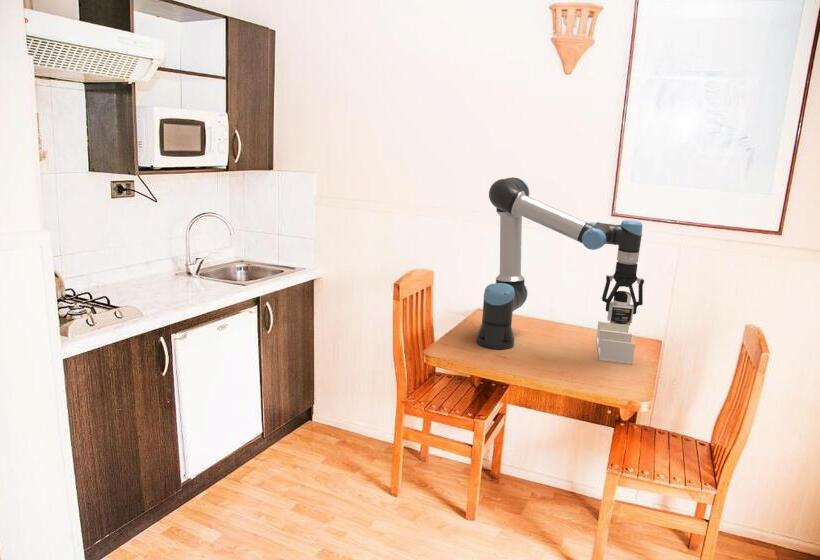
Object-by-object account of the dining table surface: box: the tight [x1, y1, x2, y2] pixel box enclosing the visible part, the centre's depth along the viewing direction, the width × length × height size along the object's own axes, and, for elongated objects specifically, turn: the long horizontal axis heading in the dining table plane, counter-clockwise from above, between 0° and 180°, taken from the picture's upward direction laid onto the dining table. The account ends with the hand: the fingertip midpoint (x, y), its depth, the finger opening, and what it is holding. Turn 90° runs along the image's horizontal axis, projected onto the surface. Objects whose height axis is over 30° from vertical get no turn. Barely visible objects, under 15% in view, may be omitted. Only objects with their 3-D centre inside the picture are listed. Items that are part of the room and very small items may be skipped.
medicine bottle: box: [609, 290, 632, 327], centre depth 236 cm, size 7×7×12 cm
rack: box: [595, 320, 636, 365], centre depth 245 cm, size 12×25×8 cm, turn 166°
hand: (619, 320), depth 237 cm, fingers closed on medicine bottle, 7 cm apart
